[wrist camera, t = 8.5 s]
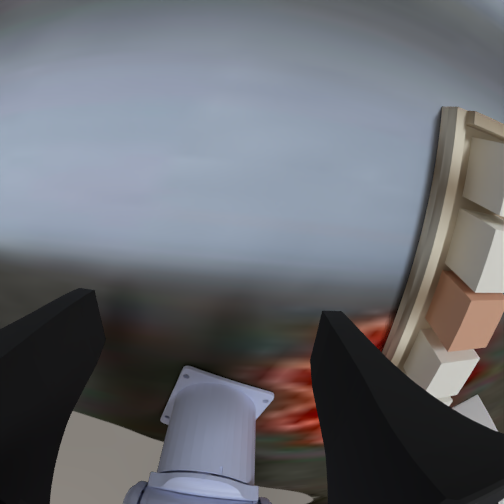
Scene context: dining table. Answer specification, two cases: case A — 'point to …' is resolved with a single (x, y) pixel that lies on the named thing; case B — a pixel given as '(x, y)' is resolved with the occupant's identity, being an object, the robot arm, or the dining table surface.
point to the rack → (439, 224)
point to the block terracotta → (463, 314)
